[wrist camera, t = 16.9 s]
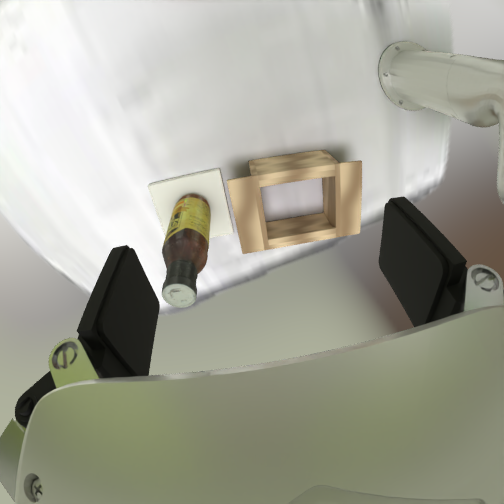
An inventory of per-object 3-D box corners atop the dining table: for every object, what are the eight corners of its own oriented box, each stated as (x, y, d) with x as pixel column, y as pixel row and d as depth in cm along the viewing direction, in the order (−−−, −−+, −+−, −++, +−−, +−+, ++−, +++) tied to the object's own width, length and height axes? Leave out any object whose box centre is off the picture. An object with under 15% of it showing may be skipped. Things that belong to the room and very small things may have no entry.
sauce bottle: (178, 188, 45) (154, 265, 29) (215, 197, 47) (212, 277, 31) (171, 222, 49) (149, 307, 33) (205, 230, 50) (200, 317, 34)
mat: (219, 168, 45) (219, 170, 44) (233, 230, 52) (233, 233, 51) (149, 184, 45) (147, 186, 45) (169, 242, 52) (168, 245, 52)
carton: (344, 147, 44) (361, 161, 39) (345, 212, 52) (359, 233, 46) (226, 164, 45) (226, 181, 39) (240, 230, 52) (242, 254, 47)
